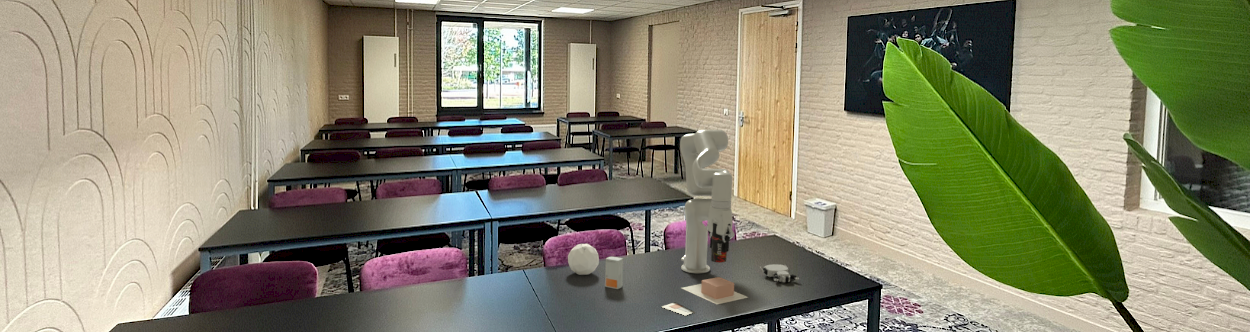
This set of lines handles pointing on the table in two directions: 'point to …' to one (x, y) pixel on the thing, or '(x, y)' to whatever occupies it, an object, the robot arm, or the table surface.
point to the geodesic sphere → (583, 259)
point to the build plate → (697, 291)
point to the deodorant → (717, 247)
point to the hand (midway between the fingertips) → (719, 249)
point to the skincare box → (614, 272)
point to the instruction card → (678, 309)
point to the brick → (717, 288)
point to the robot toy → (779, 273)
